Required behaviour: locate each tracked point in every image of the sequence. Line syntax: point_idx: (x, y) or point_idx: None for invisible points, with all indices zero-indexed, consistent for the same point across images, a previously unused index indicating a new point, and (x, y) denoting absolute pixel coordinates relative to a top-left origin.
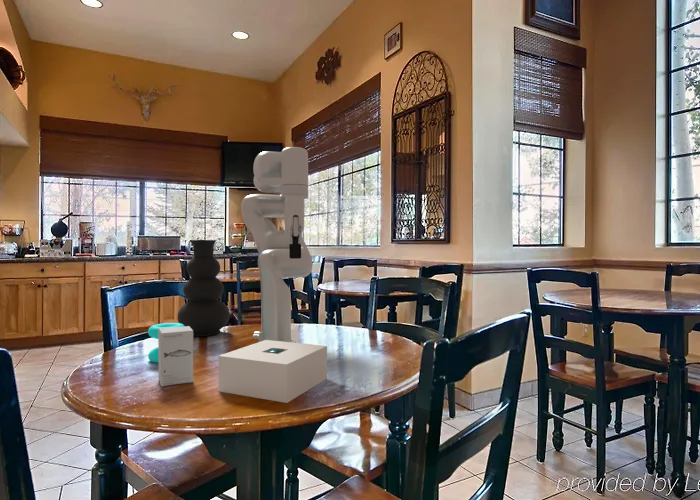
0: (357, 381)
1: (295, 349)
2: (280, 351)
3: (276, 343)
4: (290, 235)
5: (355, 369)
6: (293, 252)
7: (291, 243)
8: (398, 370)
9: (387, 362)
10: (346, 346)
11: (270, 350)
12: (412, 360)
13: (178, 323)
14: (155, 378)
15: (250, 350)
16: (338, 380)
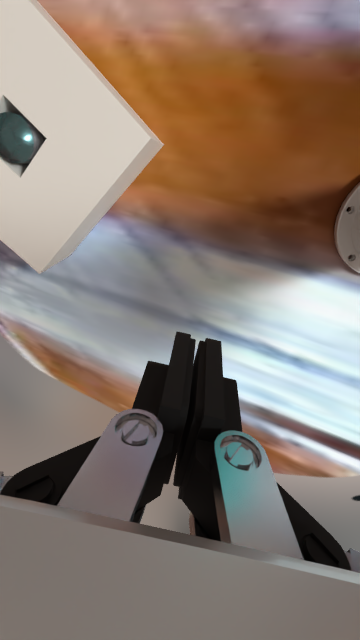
0: (44, 297)
1: (16, 194)
2: (2, 151)
3: (94, 160)
4: (63, 497)
5: (113, 320)
6: (143, 375)
7: (121, 419)
8: (88, 375)
9: (138, 382)
10: (286, 370)
11: (15, 125)
12: None
13: None
14: None
15: (23, 62)
16: (56, 270)
